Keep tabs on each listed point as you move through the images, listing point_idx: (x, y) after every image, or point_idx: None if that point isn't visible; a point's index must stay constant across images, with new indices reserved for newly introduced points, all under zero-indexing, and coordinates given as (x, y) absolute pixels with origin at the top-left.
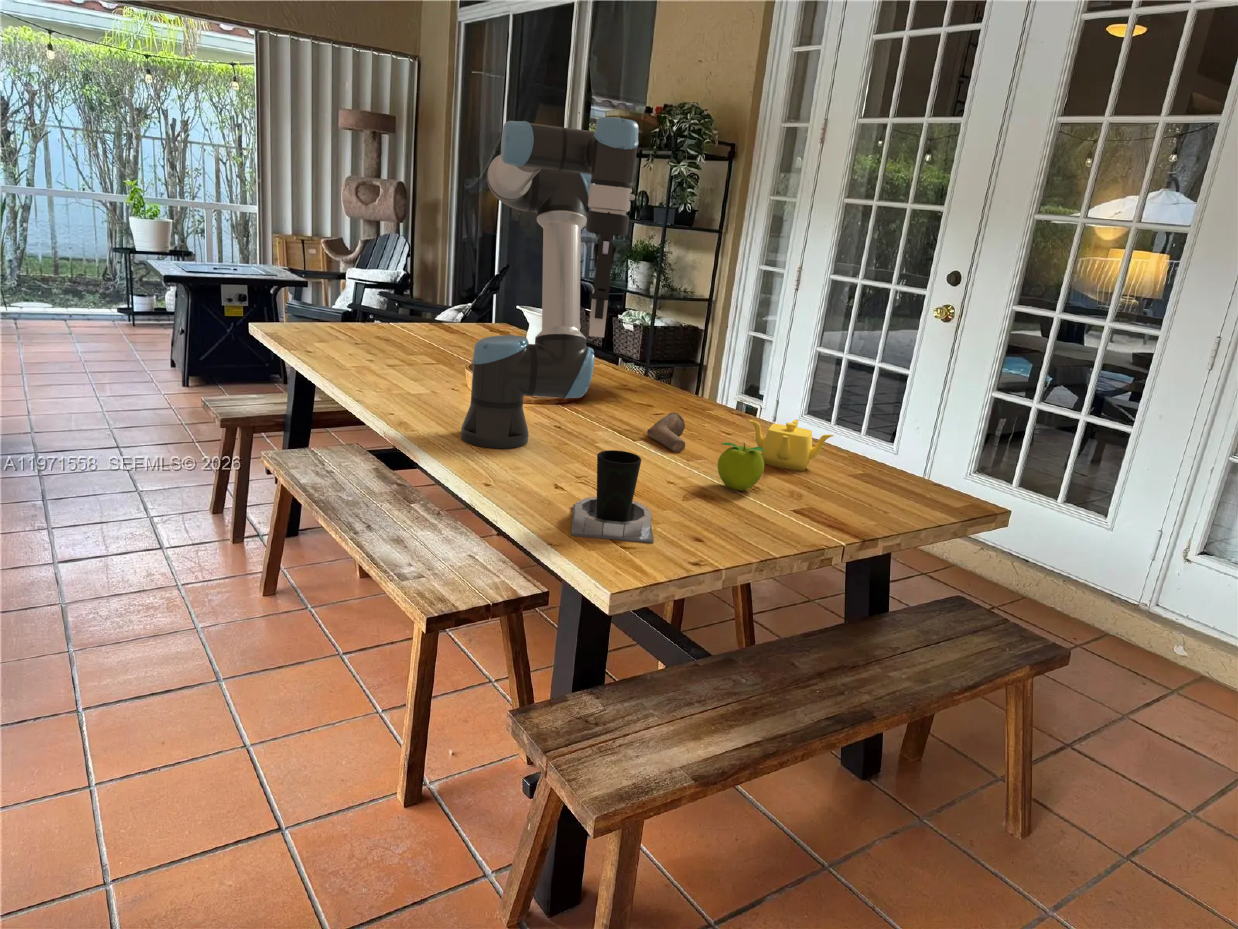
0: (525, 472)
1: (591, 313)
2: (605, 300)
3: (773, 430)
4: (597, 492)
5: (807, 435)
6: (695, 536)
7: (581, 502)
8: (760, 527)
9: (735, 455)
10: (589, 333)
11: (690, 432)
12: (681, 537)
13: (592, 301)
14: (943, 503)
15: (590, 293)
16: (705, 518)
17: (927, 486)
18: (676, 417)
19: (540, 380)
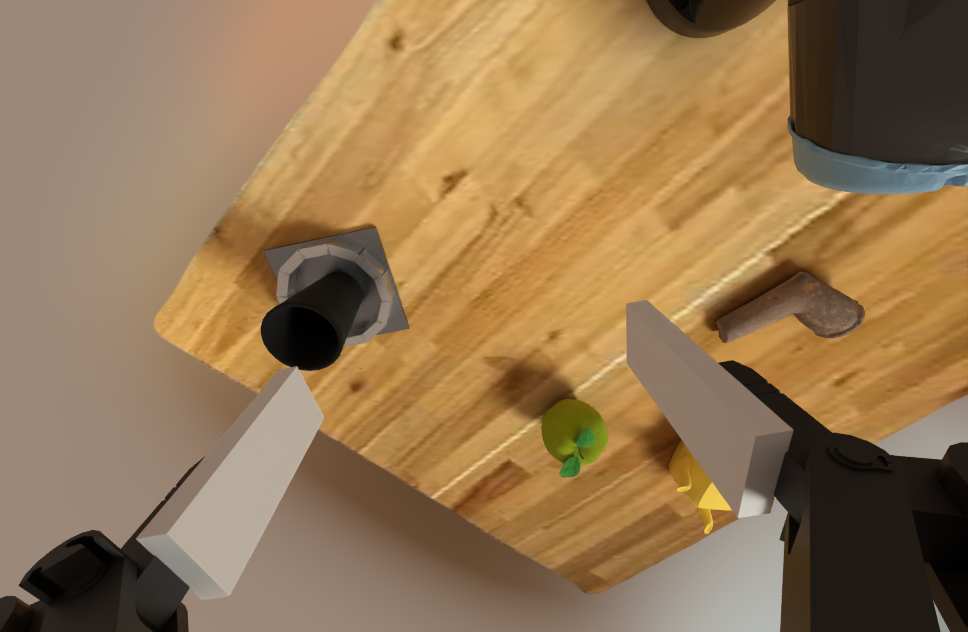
0: (504, 97)
1: (212, 451)
2: (195, 590)
3: None
4: (308, 286)
5: (706, 507)
6: (364, 383)
7: (334, 251)
8: (435, 437)
9: (556, 441)
10: (274, 377)
11: None
12: (351, 370)
13: (150, 521)
14: (597, 564)
15: (25, 587)
16: (431, 387)
17: (650, 558)
18: (836, 328)
19: (803, 18)
